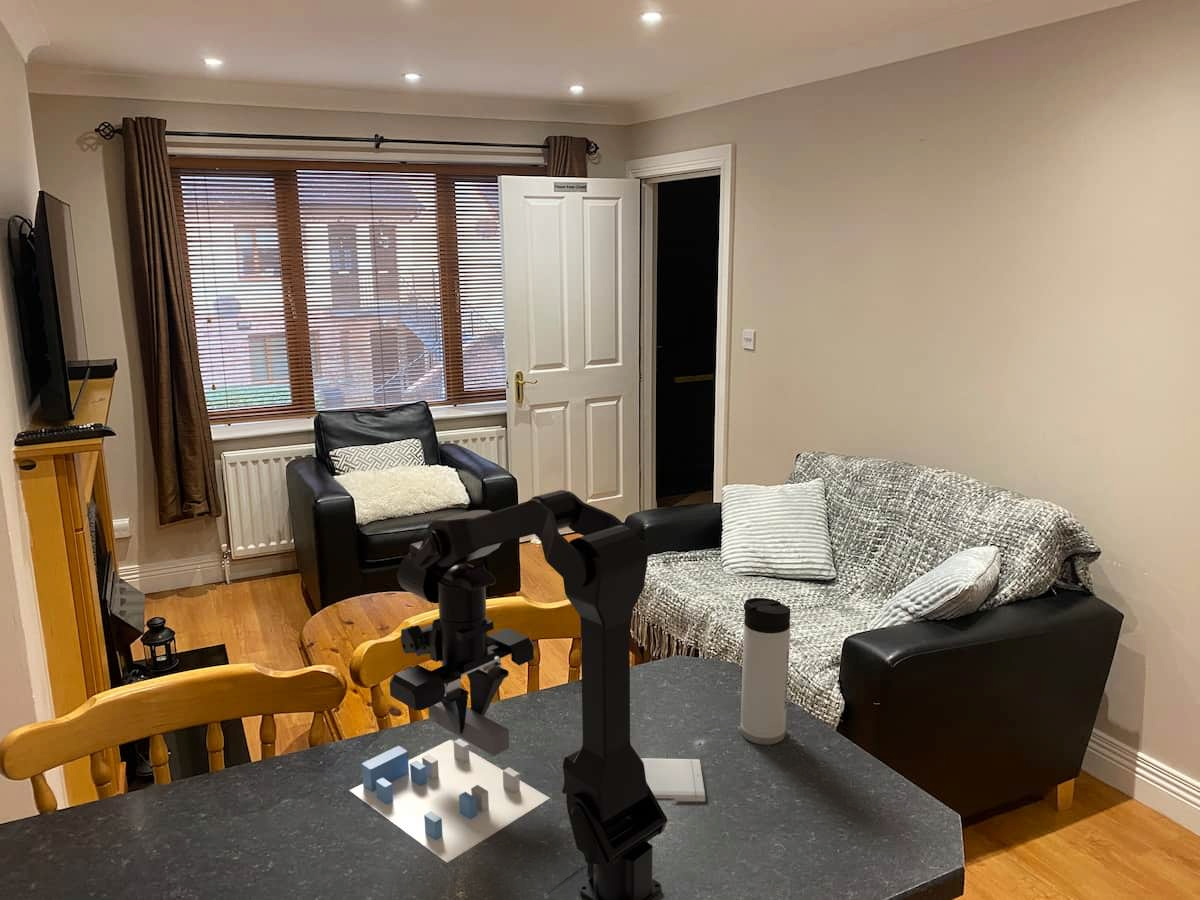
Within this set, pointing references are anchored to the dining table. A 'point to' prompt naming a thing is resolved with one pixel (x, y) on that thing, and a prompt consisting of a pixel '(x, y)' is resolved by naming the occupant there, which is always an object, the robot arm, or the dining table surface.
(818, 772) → the dining table surface
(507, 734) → the dark grey bar
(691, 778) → the hard drive
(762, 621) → the travel mug
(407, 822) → the board
